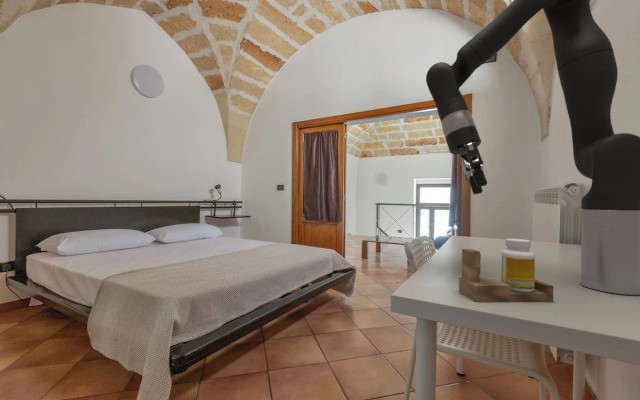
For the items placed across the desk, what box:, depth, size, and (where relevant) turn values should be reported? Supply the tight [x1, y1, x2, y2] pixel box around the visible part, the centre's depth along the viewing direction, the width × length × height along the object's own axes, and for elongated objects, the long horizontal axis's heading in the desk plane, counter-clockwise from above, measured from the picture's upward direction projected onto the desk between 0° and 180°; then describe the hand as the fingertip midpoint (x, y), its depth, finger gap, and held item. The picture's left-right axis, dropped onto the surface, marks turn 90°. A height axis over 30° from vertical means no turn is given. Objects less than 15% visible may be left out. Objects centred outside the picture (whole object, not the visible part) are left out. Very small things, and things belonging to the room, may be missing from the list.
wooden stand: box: [458, 248, 554, 303], centre depth 55 cm, size 15×6×9 cm, turn 91°
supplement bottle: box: [500, 238, 536, 292], centre depth 55 cm, size 5×5×10 cm
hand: (480, 190), depth 69 cm, fingers open, 8 cm apart
